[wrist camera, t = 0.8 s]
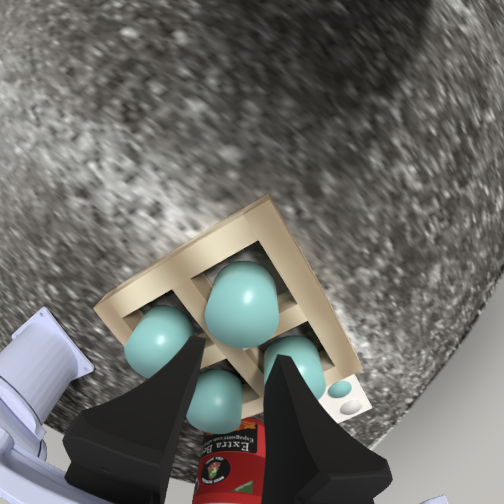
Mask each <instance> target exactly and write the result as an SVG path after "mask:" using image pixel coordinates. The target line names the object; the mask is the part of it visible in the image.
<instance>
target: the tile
mask: <svg viewBox="0 0 504 504" xmlns="http://www.w3.org/2000/svg"><path fill="white" fill-rule="evenodd" d="M318 401H319V403H320V404H321V405H322V407H323V408H324V409H325V410H326V411H327V413H328V414H329V415H330V416H331V417H332V418H333V419H334V420H335V421H336V422H337V423H339V422H342V421H344V420H347V419H349V418H351V417H353V416H356V415H358V414H360V413H362V412H364V411H367V410H369V409H371V408H372V406H371V404H370V402H369V400H368V398H367V396H366V395H365V393H364V391H363V389H362V387H361V385H360V383H359V382H358V380H357V378H356V376H355V374H353V375H351V376H349V377H347V378H345V379H342V380H340V381H338V382H336V383H334V384H332V385H329V386H327V387H326V390H325V392H324V394H323V396H322V397H321V398H320V399H319V400H318Z"/></svg>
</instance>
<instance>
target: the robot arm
mask: <svg viewBox="0 0 504 504" xmlns="http://www.w3.org/2000/svg"><path fill="white" fill-rule="evenodd" d="M12 339H13V341H12V342H11V343H10V344H9V345H8V346H7V347H6V348H5V349H4V350H3V351H2V352H1V353H0V498H5V499H6V500H7V501H9V502H10V503H12V504H164V502H165V497H166V492H167V488H168V483H169V478H170V474H171V469H172V465H173V460H174V456H175V451H176V447H177V443H178V439H179V435H180V432H181V429H182V426H183V423H184V420H185V418H186V415H187V412H188V409H189V407H190V404H191V401H192V398H193V395H194V393H195V389H196V385H197V381H198V376H199V372H200V367H201V363H202V358H203V353H204V348H205V343H206V338H202V337H198V336H194V335H192V336H190V337H189V338H188V340H187V341H186V343H185V344H184V345H183V347H182V348H181V349H180V350H179V351H178V352H177V353H176V355H175V356H174V357H173V358H172V359H171V360H170V361H169V362H168V363H167V364H166V365H164V366H163V367H162V368H161V369H160V370H159V371H158V372H156V373H155V374H154V375H153V376H151V377H150V378H149V379H147V380H146V381H145V382H143V383H142V384H140V385H139V386H137V387H135V388H134V389H132V390H131V391H129V392H127V393H125V394H123V395H121V396H119V397H117V398H115V399H113V400H111V401H108V402H106V403H104V404H101V405H98V406H95V407H92V408H89V409H86V410H82V411H81V412H80V413H79V414H78V416H77V417H76V418H75V419H74V421H73V422H72V423H71V425H70V426H69V428H68V430H67V432H66V434H65V436H64V438H63V440H62V441H63V445H64V447H65V449H66V451H67V454H68V456H69V458H70V460H71V464H70V466H69V468H68V470H67V472H64V471H63V470H61V469H59V468H57V467H55V466H53V465H51V464H49V463H47V462H46V458H47V452H46V451H47V448H46V443H45V442H44V440H43V439H42V438H43V437H44V435H45V433H46V431H45V430H44V429H43V427H42V425H43V423H44V422H45V420H46V418H47V417H48V415H49V414H50V412H51V411H52V409H53V408H54V406H55V404H56V403H57V401H58V400H59V398H60V397H61V395H62V394H63V392H64V391H65V389H66V388H67V386H68V385H69V383H70V382H71V381H72V380H74V379H77V378H79V377H81V376H83V375H86V374H88V373H90V372H92V371H93V370H94V366H93V364H92V363H91V362H90V361H89V360H88V359H87V358H86V356H85V355H84V354H83V353H82V352H81V351H80V349H79V348H78V347H77V346H76V345H75V344H74V342H73V341H72V340H71V339H70V337H69V336H68V335H67V334H66V332H65V331H64V330H63V329H62V327H61V326H60V325H59V323H58V322H57V321H56V319H55V318H54V317H53V315H52V314H51V313H50V311H49V310H48V309H47V308H46V307H43V308H41V309H40V310H39V311H38V312H37V313H36V314H35V315H33V316H32V317H31V318H30V319H29V320H28V321H27V322H26V323H25V324H23V325H22V326H21V327H20V328H19V329H18V330H17V331H16V332H15V333H14V334H13V335H12ZM263 413H264V429H265V447H266V455H265V470H264V481H263V491H262V500H261V504H374V501H373V498H374V497H376V496H377V495H378V494H379V493H381V492H382V491H384V490H385V489H386V488H387V487H388V486H389V485H390V484H391V482H392V480H393V479H392V474H391V471H390V468H389V465H388V462H387V460H386V459H384V458H383V457H381V456H379V455H378V454H376V453H374V452H373V451H371V450H369V449H368V448H366V447H365V446H364V445H362V444H361V443H360V442H358V441H357V440H356V439H354V438H353V437H352V436H351V435H349V434H348V433H347V432H346V431H345V430H344V429H343V428H342V427H341V426H340V425H339V424H338V423H337V422H336V421H335V420H334V419H333V418H332V417H331V416H330V415H329V414H328V413H327V411H326V410H325V409H324V408H323V407H322V405H321V404H320V403H319V401H318V400H317V399H316V397H315V396H314V394H313V393H312V391H311V390H310V388H309V387H308V385H307V383H306V382H305V380H304V378H303V377H302V375H301V373H300V371H299V370H298V368H297V366H296V364H295V363H294V361H293V359H292V357H291V356H287V355H281V354H277V356H276V359H275V361H274V364H273V366H272V369H271V371H270V374H269V376H268V379H267V381H266V383H265V387H264V399H263ZM420 504H449V503H448V500H447V498H446V495H441V496H438V497H435V498H432V499H428V500H426V501H424V502H422V503H420Z"/></svg>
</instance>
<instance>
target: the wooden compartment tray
mask: <svg viewBox="0 0 504 504" xmlns="http://www.w3.org/2000/svg"><path fill="white" fill-rule="evenodd" d="M258 240H259V242H260V243H261V245H262V246H263V248H264V250H265V251H266V253H267V255H268V256H269V258H270V259H271V261H272V263H273V264H274V266H275V268H276V269H277V271H278V272H279V274H280V276H281V277H282V279H283V281H284V282H285V284H286V286H287V287H288V289H289V290H288V291H286V292H284V293H282V294H280V295H278V296H277V301H278V311H279V324H278V327H277V329H276V331H275V333H274V334H273V336H272V337H271V338H273V337H275V336H277V335H279V334H282V333H284V332H286V331H288V330H290V329H292V328H294V327H296V326H298V325H300V324H302V323H304V322H306V321H308V322H309V323H310V325H311V327H312V328H313V330H314V332H315V333H316V335H317V337H318V338H319V340H320V342H321V343H322V345H323V347H324V348H325V349H324V350H322V351H320V352H318V354H319V357H320V361H321V365H322V369H323V373H324V377H325V381H326V387H327V386H329V385H332V384H334V383H336V382H338V381H340V380H342V379H345V378H347V377H349V376H351V375H353V374H355V373H357V372H359V371H361V370H363V369H362V366H361V364H360V361H359V359H358V357H357V354H356V352H355V350H354V348H353V346H352V344H351V342H350V340H349V338H348V336H347V334H346V332H345V330H344V328H343V326H342V325H341V323H340V321H339V319H338V317H337V315H336V313H335V311H334V309H333V307H332V306H331V304H330V302H329V300H328V298H327V296H326V294H325V293H324V291H323V289H322V287H321V285H320V283H319V282H318V280H317V278H316V276H315V274H314V272H313V271H312V269H311V267H310V265H309V263H308V262H307V260H306V258H305V256H304V255H303V253H302V251H301V249H300V247H299V246H298V244H297V242H296V240H295V239H294V237H293V235H292V233H291V232H290V230H289V228H288V227H287V225H286V223H285V221H284V220H283V218H282V216H281V214H280V213H279V211H278V209H277V208H276V206H275V204H274V203H273V201H272V199H271V198H270V196H269V194H266V195H265V196H263V197H261V198H259V199H258V200H256V201H254V202H253V203H251V204H249V205H247V206H246V207H244V208H242V209H241V210H239V211H237V212H236V213H234V214H232V215H231V216H229V217H227V218H225V219H224V220H222V221H220V222H219V223H217V224H216V225H214V226H212V227H211V228H209V229H207V230H206V231H204V232H202V233H201V234H199V235H197V236H196V237H194V238H193V239H191V240H189V241H188V242H186V243H185V244H183V245H181V246H180V247H178V248H177V249H175V250H173V251H172V252H170V253H169V254H167V255H165V256H164V257H162V258H161V259H159V260H158V261H156V262H154V263H153V264H151V265H150V266H148V267H147V268H145V269H144V270H142V271H140V272H139V273H137V274H136V275H134V276H133V277H131V278H130V279H128V280H127V281H125V282H124V283H122V284H121V285H119V286H118V287H116V288H115V289H113V290H112V291H110V292H109V293H107V294H106V295H105V296H104V297H103V298H102V299H101V301H100V302H99V303H98V304H97V305H96V306H95V307H94V308H93V309H94V310H95V311H96V313H97V314H98V315H99V317H100V318H101V319H102V320H103V322H104V323H105V324H106V325H107V327H108V328H109V329H110V330H111V332H112V333H113V334H114V335H115V336H116V338H117V339H118V340H119V341H120V342H121V343H122V345H123V346H124V347H125V345H126V343H127V341H128V339H129V338H130V336H131V334H132V333H133V331H134V330H135V328H136V327H137V325H138V323H139V322H140V320H141V319H142V317H143V316H144V315H143V313H142V312H141V311H140V310H139V308H140V307H142V306H144V305H145V304H147V303H149V302H150V301H152V300H154V299H156V298H157V297H159V296H161V295H163V294H164V293H166V292H168V291H170V290H171V289H172V290H173V291H174V292H175V294H176V295H177V296H178V298H179V299H180V300H181V302H182V303H183V304H184V306H185V307H186V308H187V310H188V311H189V312H190V313H191V315H192V316H193V317H194V319H195V320H196V321H197V322H198V324H199V325H200V326H201V328H202V329H203V330H204V331H205V332H203V333H201V334H199V335H197V336H198V337H202V338H206V343H205V348H204V353H203V358H202V363H201V367H200V369H202V368H204V367H207V366H209V365H212V364H214V363H216V362H219V361H221V360H224V359H226V358H227V359H228V361H229V362H230V363H231V364H232V365H233V366H234V368H235V369H236V370H237V371H238V372H239V373H240V375H241V376H242V377H243V378H244V379H245V380H246V381H247V383H246V384H243V400H242V415H241V419H243V418H246V417H249V416H252V415H255V414H258V413H261V412H263V399H264V355H263V353H262V352H261V351H260V349H259V348H258V347H257V346H255V347H251V348H236V347H231V346H228V345H226V344H224V343H222V342H220V341H219V340H217V339H216V338H215V337H214V336H213V335H212V334H211V333H210V331H209V329H208V328H207V325H206V322H205V309H206V306H207V303H208V300H209V297H210V294H211V291H212V288H213V285H212V284H211V283H210V281H209V280H208V278H207V277H206V276H205V274H204V273H203V271H205V270H206V269H208V268H210V267H212V266H213V265H215V264H217V263H219V262H221V261H222V260H224V259H226V258H228V257H229V256H231V255H233V254H235V253H236V252H238V251H240V250H242V249H243V248H245V247H247V246H249V245H251V244H252V243H254V242H256V241H258ZM271 338H270V339H271Z"/></svg>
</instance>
